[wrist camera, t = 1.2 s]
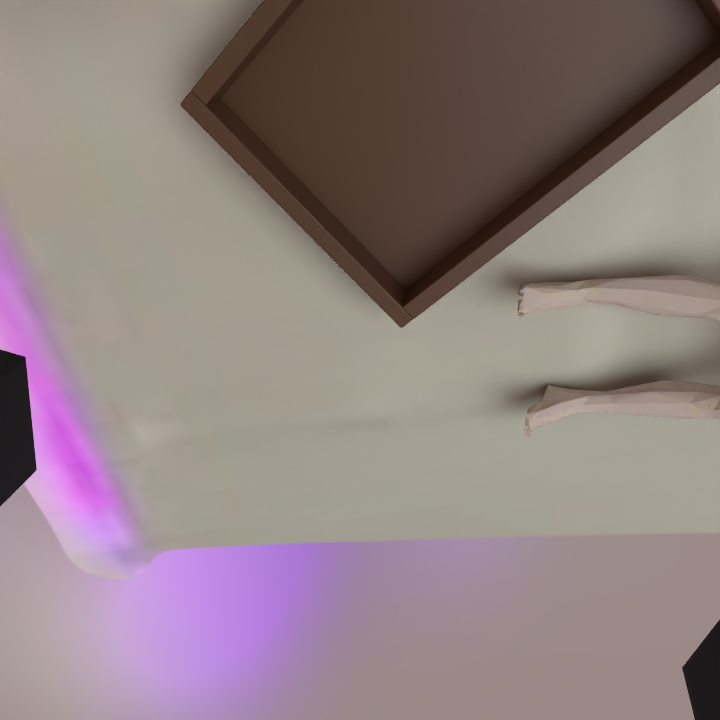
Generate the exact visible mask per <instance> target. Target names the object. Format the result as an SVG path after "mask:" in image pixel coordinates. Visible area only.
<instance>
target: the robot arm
mask: <svg viewBox="0 0 720 720" xmlns="http://www.w3.org/2000/svg"><path fill="white" fill-rule="evenodd" d="M36 470H37V469H36V459H35V449H34V439H33V429H32V419H31V409H30V399H29V389H28V378H27V368H26V358H25V357H24V356H20V355H17V354H13V353H10V352H6V351H3V350H0V506H1V505H2V504H3V503H4V502H5V501H6V500H7V499H8V498H9V497H10V496H11V495H12V494H13V493H14V492H15V491H16V490H17V489H18V488H19V487H20V486H21V485H22V484H23V483H24V482H25V481H26V480H27V479H28V478H29V477H30V476H31V475H32V474H33V473H34V472H35V471H36ZM682 669H683V672H684V677H685V681H686V685H687V689H688V693H689V697H690V701H691V705H692V709H693V713H694V717H695V720H720V620H719V621H718V622H717V624H716V625H715V626H714V628H713V629H712V630H711V631H710V633H709V634H708V635H707V637H706V638H705V639H704V640H703V642H702V643H701V644H700V646H699V647H698V648H697V650H696V651H695V652H694V653H693V655H692V656H691V657H690V658H689V660H688V661H687V662H686V664H685V665H684V666H683V668H682Z"/></svg>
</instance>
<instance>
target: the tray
mask: <svg viewBox="0 0 720 720" xmlns="http://www.w3.org/2000/svg"><path fill="white" fill-rule="evenodd" d="M719 83H720V0H264V1H263V2H262V3H261V4H260V6H259V7H258V8H257V9H256V11H255V12H254V13H253V14H252V15H251V17H250V18H249V19H248V20H247V22H246V23H245V24H244V25H243V27H242V28H241V29H240V30H239V32H238V33H237V34H236V35H235V37H234V38H233V39H232V40H231V41H230V43H229V44H228V45H227V46H226V48H225V49H224V50H223V51H222V53H221V54H220V55H219V56H218V58H217V59H216V60H215V61H214V63H213V64H212V65H211V66H210V68H209V69H208V70H207V71H206V72H205V74H204V75H203V76H202V77H201V79H200V80H199V81H198V82H197V84H196V85H195V86H194V87H193V89H192V91H191V92H190V93H189V94H188V95H187V96H186V97H185V99H184V100H183V101H182V102H181V106H182V107H183V108H184V109H185V110H186V111H187V112H188V113H189V114H190V115H191V116H192V117H193V118H194V119H195V120H196V121H197V122H198V123H199V124H200V125H201V126H202V127H203V129H204V130H205V131H206V132H207V133H208V134H209V135H210V136H211V137H212V138H213V139H214V140H215V141H216V142H217V143H218V144H219V145H220V146H221V147H222V148H223V149H224V150H225V151H226V152H227V153H228V154H229V155H230V156H231V157H232V158H233V159H234V160H235V161H236V162H237V163H238V164H239V165H240V166H241V167H242V168H243V169H244V170H245V171H246V172H247V173H248V174H249V175H250V176H251V177H252V178H253V179H254V180H255V181H256V182H257V183H258V184H259V185H260V186H261V187H262V188H263V189H264V190H265V191H266V192H267V193H268V194H269V195H270V196H271V197H272V198H273V199H274V200H275V201H276V202H277V203H278V204H279V205H280V206H281V207H282V208H283V209H284V210H285V211H286V212H287V213H288V214H289V215H290V216H291V217H292V218H293V219H294V220H295V221H296V222H297V223H298V224H299V225H300V226H301V227H302V228H303V229H304V230H305V231H306V233H307V234H308V235H309V236H310V237H311V238H312V239H313V240H314V241H315V242H316V243H317V244H318V245H319V246H320V247H321V248H322V249H323V250H324V251H325V252H326V253H327V254H328V255H329V256H330V257H331V258H332V259H333V260H334V261H335V262H336V263H337V264H338V265H339V266H340V267H341V268H342V269H343V270H344V271H345V272H346V273H347V274H348V275H349V276H350V277H351V278H352V279H353V280H354V281H355V282H356V283H357V284H358V285H359V286H360V287H361V288H362V289H363V290H364V291H365V292H366V293H367V294H368V295H369V296H370V297H371V298H372V299H373V300H374V301H375V302H376V303H377V304H378V305H379V306H380V307H381V308H382V309H383V310H384V311H385V312H386V313H387V314H388V315H389V316H390V317H391V318H392V319H393V320H394V321H395V322H396V323H397V324H398V325H399V326H400V327H401V328H402V327H404V326H405V325H406V324H408V323H409V322H410V321H411V320H413V318H416V317H417V316H418V315H420V314H421V313H422V312H423V311H425V310H426V309H427V308H429V307H430V306H431V305H433V304H434V303H435V302H436V301H438V300H439V299H440V298H442V297H443V296H444V295H446V294H447V293H448V292H449V291H451V290H452V289H453V288H455V287H456V286H457V285H459V284H460V283H461V282H462V281H464V280H465V279H466V278H468V277H469V276H470V275H472V274H473V273H474V272H475V271H477V270H478V269H479V268H481V267H482V266H483V265H484V264H486V263H487V262H488V261H490V260H491V259H492V258H494V257H495V256H496V255H497V254H499V253H500V252H501V251H503V250H504V249H505V248H507V247H508V246H509V245H510V244H512V243H513V242H514V241H516V240H517V239H518V238H520V237H521V236H522V235H523V234H525V233H526V232H527V231H529V230H530V229H531V228H532V227H534V226H535V225H536V224H538V223H539V222H540V221H542V220H543V219H544V218H545V217H547V216H548V215H549V214H551V213H552V212H553V211H555V210H556V209H557V208H558V207H560V206H561V205H562V204H564V203H565V202H566V201H568V200H569V199H570V198H571V197H573V196H574V195H575V194H577V193H578V192H579V191H580V190H582V189H583V188H584V187H586V186H587V185H588V184H590V183H591V182H592V181H593V180H595V179H596V178H597V177H599V176H600V175H601V174H603V173H604V172H605V171H606V170H608V169H609V168H610V167H612V166H613V165H614V164H616V163H617V162H618V161H619V160H621V159H622V158H623V157H625V156H626V155H627V154H629V153H630V152H631V151H632V150H634V149H635V148H636V147H638V146H639V145H640V144H641V143H643V142H644V141H645V140H647V139H648V138H649V137H651V136H652V135H653V134H654V133H656V132H657V131H658V130H660V129H661V128H662V127H664V126H665V125H666V124H667V123H669V122H670V121H671V120H673V119H674V118H675V117H677V116H678V115H679V114H680V113H682V112H683V111H684V110H686V109H687V108H688V107H689V106H691V105H692V104H693V103H695V102H696V101H697V100H699V99H700V98H701V97H702V96H704V95H705V94H706V93H708V92H709V91H710V90H712V89H713V88H714V87H715V86H717V85H718V84H719Z"/></svg>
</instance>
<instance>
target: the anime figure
mask: <svg viewBox="0 0 720 720" xmlns="http://www.w3.org/2000/svg"><path fill="white" fill-rule="evenodd" d="M587 303H603V304H616V305H620V306H624V307H628V308H632V309H636V310H640V311H644V312H647V313H651V314H657V315H671V316H685V317H700V318H709V319H712V320H716V321H719V322H720V283H716V282H713V281H709V280H706V279H703V278H699V277H696V276H688V275H666V276H648V277H629V278H611V279H592V280H583V281H576V282H543V283H529V284H524V285H520V287H519V291H518V312H517V313H519V315H518V319H519V318H521V317H523V315H524V314H526V313H528V312H531V311H533V310H539V309H552V308H562V307H568V306H574V305H581V304H587ZM580 412H604V413H620V414H632V415H644V416H655V417H667V418H688V419H720V386H717V385H707V384H699V383H691V382H678V381H664V380H662V381H657V382H652V383H647V384H642V385H637V386H631V387H626V388H621V389H616V390H611V391H606V392H601V391H588V390H574V389H566V388H561V387H556V386H551V385H548V386H547V389H546V391H545V394H544V396H543V399H542V402H540V403H538V404H536V405H534V406H532V407H531V408H529V409H528V412H527V416H526V420H525V426H524V427H525V428H524V432H525V433H526V437H528V436H530V434H531V431H532V430H533V429H535V428H537V427H540V426H543V425H545V424H548V423H550V422H553V421H556V420H558V419H561V418H564V417H566V416H569V415H571V414H574V413H580Z"/></svg>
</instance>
